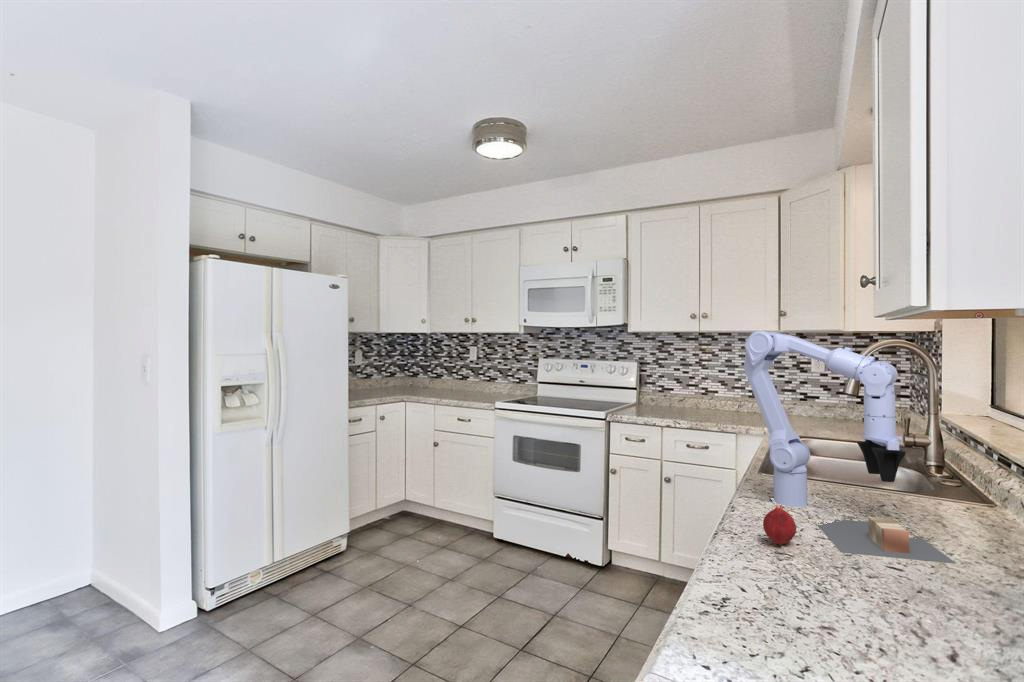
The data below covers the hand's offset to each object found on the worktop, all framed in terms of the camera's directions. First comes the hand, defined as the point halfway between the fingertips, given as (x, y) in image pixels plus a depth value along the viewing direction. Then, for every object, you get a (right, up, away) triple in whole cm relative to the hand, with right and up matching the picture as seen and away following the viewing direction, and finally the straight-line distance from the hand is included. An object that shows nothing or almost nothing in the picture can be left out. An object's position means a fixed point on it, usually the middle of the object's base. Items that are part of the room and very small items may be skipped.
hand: (880, 477), depth 114 cm
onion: (-29, -10, -12) cm, 33 cm away
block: (-7, -8, -10) cm, 14 cm away
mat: (-8, -10, -9) cm, 16 cm away
